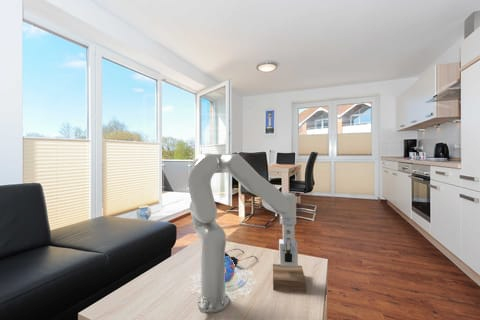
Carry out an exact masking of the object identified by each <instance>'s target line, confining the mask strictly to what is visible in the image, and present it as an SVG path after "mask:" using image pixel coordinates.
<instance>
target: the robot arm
mask: <svg viewBox="0 0 480 320" xmlns="http://www.w3.org/2000/svg"><path fill="white" fill-rule="evenodd" d="M219 173H220V174H224V173H227V174H229V175H230V176H231V177H232V178H233V179H235V180H236V181H237V182H238V183H239V184H240V185H241V186H242V187H243V189H244V190H245V189H246V191H248V192H249V193H251V194H253V195H255V196H256V197H258V198H260V199H261V204H262V206H263V207H264V208H265V209H266V210H268V211H271V212H273V213H275V214H277V215H278V214H279V224H280V225H281V226H282V239H283V244H284V247H285V262H292V252H291V246H292V247H295V241H294V239H295V225H297V195H295V194H294V193H292V192H281V191H280V190H279V189H278V188H277V187H276V186H275V185H273V184H272V183H270V181H268V180H267V179H265V178H264V177H263V176H261V175H260V174H259V173H258V172H257V171H256V170H255V169H254V167H252V165H250V164H249V163H248V161H246V160H245V159H244V158H243V156H241V155H240V154H239V153H238V154H237V153H218V154H217V153H201V154H197V155H196V156H195V157H194V158H193V162H192V168H191V170H190V172H189V175H188V180H187V183H188V190H189V195H190V204H189V212H190V215H191V219H192V223H193V225H194V226H193V227H194V230H195V233H196V236H197V237H198V239H199V240H200V242H201V252H200V273H201V275H200V276H201V277H200V279H201V281H200V283H201V284H200V286H201V287H200V288H201V291H200V292H201V293H200V294H201V295H199V296H198V299H197V306H198V308H199V312H200V313H202V314H204V313H205V312H206V313H217V312H221V311H223V310H224V309H226V308H227V307H228V305H229V303H230V297H229V294H227V293H226V261H225V253H226V245H227V236H226V235H227V234H226V232H225V230H224V228H223V227H221V225H220V224H219V223H217V222H216V217H217V215H218V208H217V205H216V202H215V197H214V194H213V190H212V179H213V176H214V175H215V174H219ZM290 244H291V246H290ZM286 245H287V246H286ZM286 248H287V249H286Z"/></svg>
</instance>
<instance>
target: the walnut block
mask: <svg viewBox="0 0 480 320" xmlns="http://www.w3.org/2000/svg"><path fill="white" fill-rule="evenodd" d="M304 272H305V271H304V269H303V265H298V266H280V263H277V264H276V263H273V264H272V290H273V291H283V292H284V291H285V292H298V293H307V281H306V277H305V273H304Z"/></svg>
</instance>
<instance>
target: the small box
mask: <svg viewBox="0 0 480 320" xmlns="http://www.w3.org/2000/svg"><path fill="white" fill-rule="evenodd" d="M294 241H295V247H292V246H291V244H290V246H291V252H292V262H285V247H284V244H283V238H282V239H281V238H280V239H278V244H279V245H278V251H279V252H278V253H279V254H278V255H279V257H278V258H279V264H280V266H299V263H298V262H299V260H298V259H299V256H298V255H299V254H298V253H299V252H298V249H299V247H298V243H297V240H296V239H295V238H294ZM286 246H287V245H286ZM286 249H287V248H286Z"/></svg>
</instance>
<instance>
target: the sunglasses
mask: <svg viewBox="0 0 480 320" xmlns="http://www.w3.org/2000/svg"><path fill="white" fill-rule="evenodd" d="M236 250H239V251H241V252H242V253H245V251H243V250H241V249H240V248H235V249H234V248H233V249H229V250H225V256H229V257H230V258H231V259H232V260H233V262H234V264H235V266H234V267H236V268H237V266H238V263H239V262H241V261H242V260H246V259H249V258H253V257H254V258H255V259H257V256H256V255H251V256H249V257H244V258H241V259H238V258H236V257H235V256H230V255H229V254H228V252H232V251H236Z"/></svg>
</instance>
